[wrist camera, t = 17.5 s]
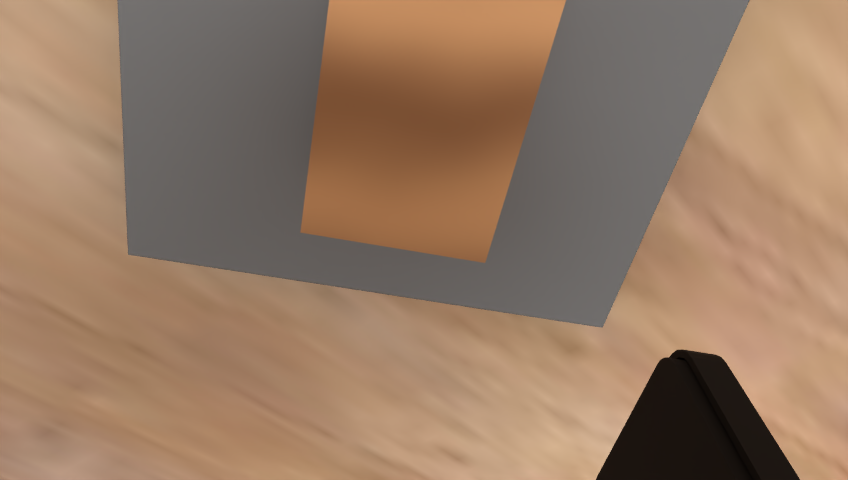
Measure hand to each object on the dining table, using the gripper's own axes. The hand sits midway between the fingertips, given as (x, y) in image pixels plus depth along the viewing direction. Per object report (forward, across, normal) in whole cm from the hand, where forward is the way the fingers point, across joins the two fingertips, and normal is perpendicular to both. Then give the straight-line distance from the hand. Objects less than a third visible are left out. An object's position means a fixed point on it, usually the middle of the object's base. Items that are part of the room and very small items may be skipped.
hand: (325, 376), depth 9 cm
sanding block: (+17, -2, 0) cm, 17 cm away
